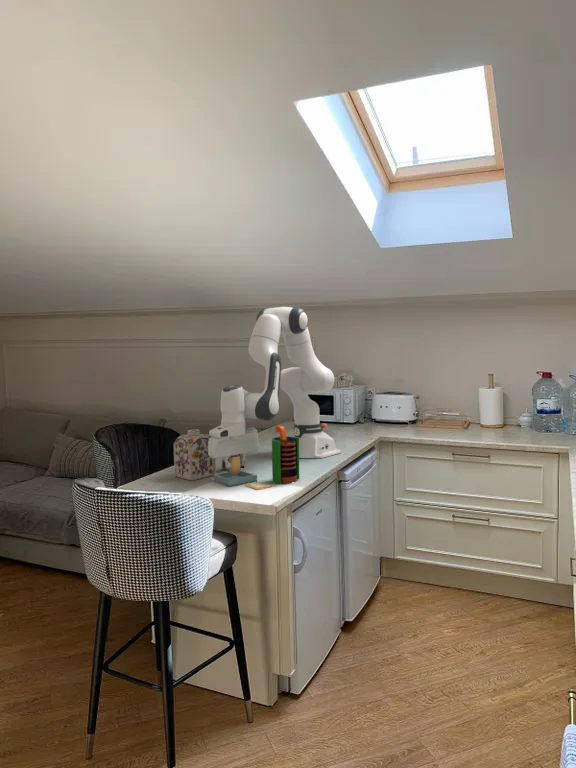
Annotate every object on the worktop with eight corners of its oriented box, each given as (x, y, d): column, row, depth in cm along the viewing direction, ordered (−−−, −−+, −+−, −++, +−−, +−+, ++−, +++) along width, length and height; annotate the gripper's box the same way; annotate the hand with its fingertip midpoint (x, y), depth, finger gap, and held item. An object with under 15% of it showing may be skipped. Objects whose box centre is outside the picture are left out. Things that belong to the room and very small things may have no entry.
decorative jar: (216, 475, 230) (214, 429, 228) (191, 481, 222) (189, 433, 221) (198, 471, 239) (196, 426, 237) (173, 476, 231) (171, 430, 229)
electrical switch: (243, 466, 245) (242, 444, 244) (247, 470, 241) (247, 447, 239) (221, 469, 242) (220, 447, 240) (225, 472, 237) (224, 450, 235)
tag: (258, 482, 217) (258, 481, 217) (271, 487, 210) (271, 485, 210) (244, 485, 213) (244, 484, 213) (257, 490, 207) (257, 488, 207)
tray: (240, 476, 228) (239, 469, 228) (257, 481, 219) (256, 474, 219) (213, 481, 221) (213, 474, 221) (230, 487, 212) (229, 480, 212)
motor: (287, 485, 212) (285, 429, 211) (267, 482, 217) (265, 428, 216) (302, 479, 221) (301, 425, 219) (283, 476, 226) (281, 424, 224)
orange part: (236, 470, 223) (236, 453, 222) (242, 472, 219) (241, 454, 219) (227, 472, 220) (226, 454, 220) (233, 474, 217) (232, 456, 216)
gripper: (252, 425, 227) (253, 461, 228) (205, 431, 215) (206, 469, 216) (261, 427, 222) (262, 463, 223) (213, 433, 210) (215, 472, 211)
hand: (234, 466), depth 220 cm, fingers closed on orange part, 4 cm apart
